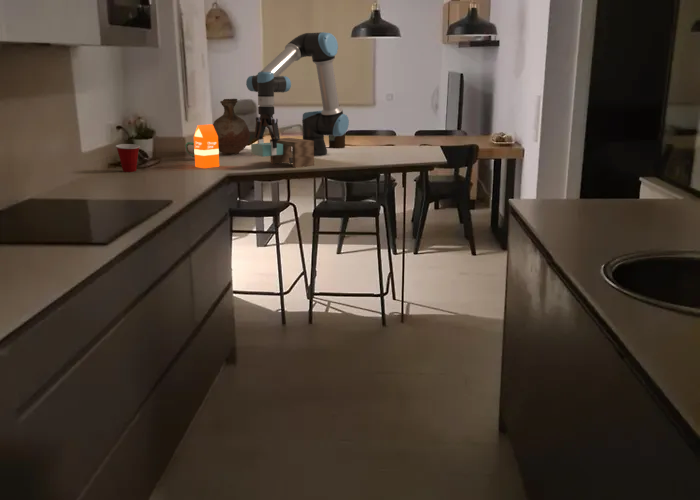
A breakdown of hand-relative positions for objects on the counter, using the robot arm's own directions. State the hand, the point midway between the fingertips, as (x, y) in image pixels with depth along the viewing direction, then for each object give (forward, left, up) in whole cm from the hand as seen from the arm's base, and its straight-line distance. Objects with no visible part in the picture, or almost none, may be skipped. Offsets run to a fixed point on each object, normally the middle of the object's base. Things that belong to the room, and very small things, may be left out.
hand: (267, 154), depth 326 cm
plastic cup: (+53, -35, -7) cm, 64 cm away
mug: (+9, -45, -7) cm, 46 cm away
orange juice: (+19, -23, -7) cm, 30 cm away
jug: (-17, -55, -7) cm, 58 cm away
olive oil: (-81, -38, -7) cm, 90 cm away
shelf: (-15, 0, -6) cm, 16 cm away
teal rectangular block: (0, 0, 0) cm, 0 cm away
